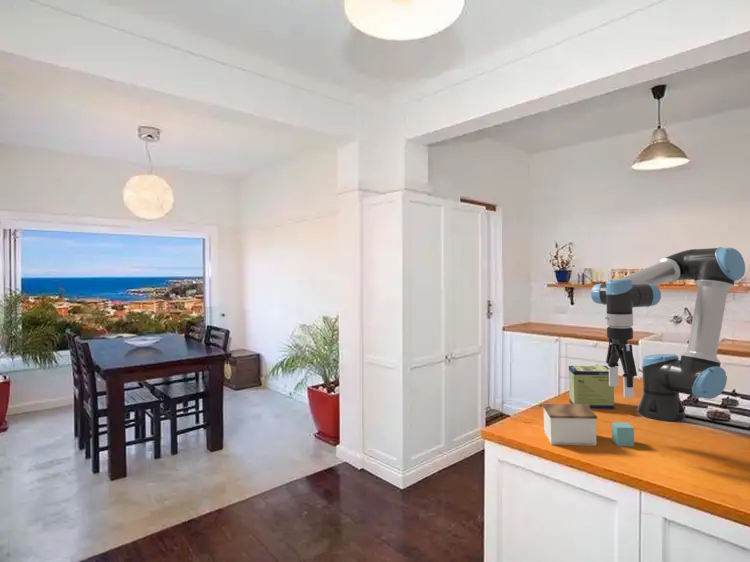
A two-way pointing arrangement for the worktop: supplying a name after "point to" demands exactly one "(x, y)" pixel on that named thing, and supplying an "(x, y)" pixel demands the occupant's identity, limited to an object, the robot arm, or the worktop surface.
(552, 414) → the lid
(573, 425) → the box
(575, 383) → the protein box
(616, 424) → the block
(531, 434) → the worktop surface
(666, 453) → the worktop surface
